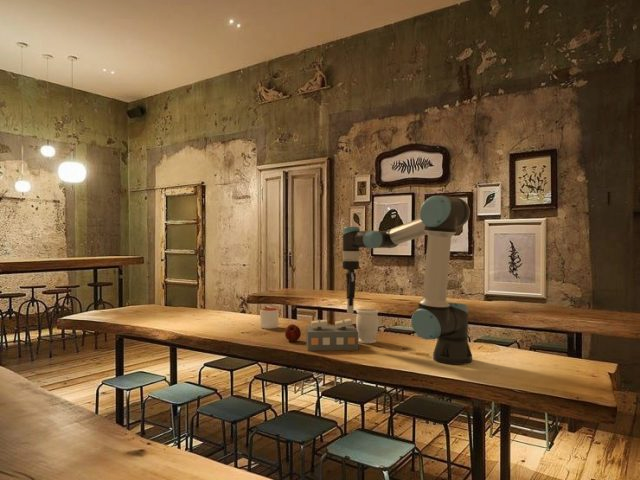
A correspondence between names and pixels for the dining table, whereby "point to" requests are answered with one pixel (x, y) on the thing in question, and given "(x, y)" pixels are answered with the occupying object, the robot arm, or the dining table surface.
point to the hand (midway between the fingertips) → (350, 312)
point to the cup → (269, 318)
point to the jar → (367, 325)
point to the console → (331, 338)
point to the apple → (292, 333)
